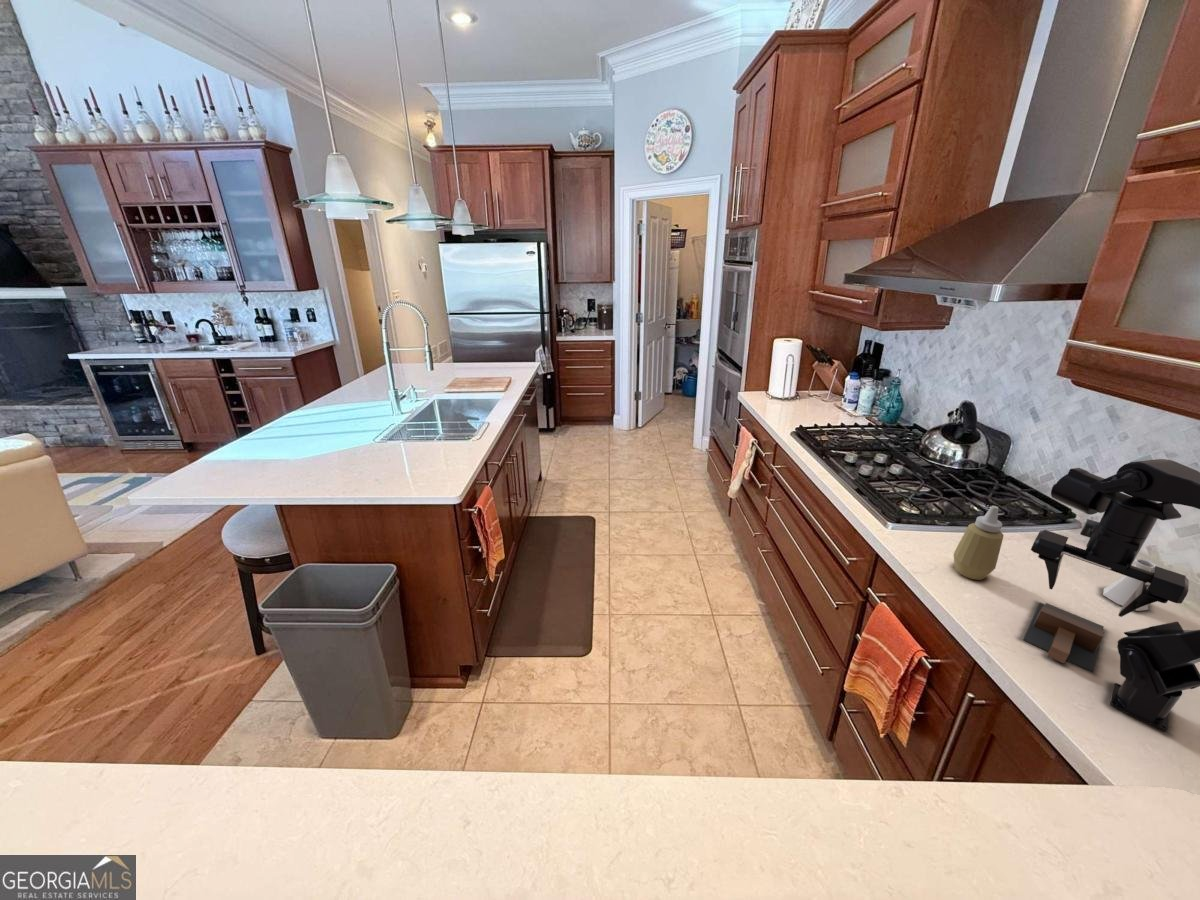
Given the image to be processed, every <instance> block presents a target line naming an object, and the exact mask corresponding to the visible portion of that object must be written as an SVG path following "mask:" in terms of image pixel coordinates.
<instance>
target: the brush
mask: <svg viewBox="0 0 1200 900" xmlns="http://www.w3.org/2000/svg"><path fill="white" fill-rule="evenodd" d="M1034 626H1035V627H1037V628H1039V629H1042V630H1044V631H1046V632H1049V633H1051V634H1053V635H1055V636H1054V639H1053V641H1052V644H1051V647H1050V649H1049V652H1048V651H1047V655H1046V656H1047V657H1048V658H1050V659H1052V660H1055V661H1056V662H1059V663H1061V664H1065V663H1066V661H1067V660H1066V659H1067V657H1068V656H1069V653H1070V650H1071V647H1072V644H1076V645H1078V646H1080V647H1083V648H1085V649H1087V650H1089V651H1092V652H1095V651H1096V649H1097V647H1098V645H1099V644H1100V645H1101V643H1102V640H1103V639H1104V636H1105V631H1104V630H1103V629H1104V627H1105V626H1104V625H1102V624H1099V623H1097V622H1095V621H1092V620H1089V619H1087V618H1084V617H1082V616H1080V615H1077V614H1074V613H1072V612H1070V611H1067V610H1065V609H1062V608H1060V607H1058V606H1055V605H1052V604H1050V603H1048V602H1045V603H1044V607H1042V609H1041V611H1040V613H1039V615H1038V617H1037V619H1036V621H1035V623H1034Z"/></svg>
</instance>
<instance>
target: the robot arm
mask: <svg viewBox="0 0 1200 900" xmlns="http://www.w3.org/2000/svg"><path fill="white" fill-rule="evenodd" d="M1050 496H1051V498H1052V499H1054V500H1055V501H1057V502H1060V503H1062V504H1064V505H1067V506H1069V507H1071V508H1073V509H1075V510H1077V511H1080V512H1082V513H1084V514H1087V515H1090V516H1091V515H1095V514H1102V517H1101V518H1100V521H1096V520H1093V519H1089V518H1087V519H1086V521H1085V522H1084V525H1083V527H1082V529H1081V530H1080V533H1079V534H1080V536H1082V537H1083V536H1084V537H1086V538H1089V540H1088V541H1087V543H1086V545H1085V547H1086V548H1085V549H1083V548H1080V547H1077V546H1075V545H1072V544H1069V543H1067V542H1068V540H1069V536H1065V535H1062V534H1061V533H1056V532H1054V531H1050V530H1047V529H1043V530H1040V531H1039V532H1038V533H1037V535H1036V537H1035V539H1034V541H1033V543H1032V546H1031V547H1030V551H1032V552H1033V553H1034V554H1037V557H1038V559H1040V560H1043V561H1044V564H1045V568H1046V570H1047V577H1048V588H1049V590H1053V589H1054V587H1055V585H1056V583H1057V580H1058V576H1059V572H1060V568H1061V565H1062V560H1063V557H1064V555H1065V556H1068V557H1070V558H1074V559H1077V560H1079V561H1082V562H1086V563H1088V564H1091V565H1094V566H1097V567H1100V568H1101V569H1102V568H1103V569H1105V570H1108V571H1111V572H1115V573H1118V574H1119V575H1122V576H1124V575H1125V576H1128V577H1131V578H1134V579H1137V580H1140V581H1142V582H1141V584H1140V585H1139V587H1138V588H1137V590H1136V591H1135V592H1134V593H1133V594H1132V596H1131V597H1130V598H1129V599H1128V600H1127V602H1126V603H1125V604H1124V605H1123V606H1122V605H1121V606H1122V607H1121V608H1120V610H1119V612H1118V614H1117V615H1118V617H1120V618H1123V617H1124V616H1126V615H1129V614H1130V613H1132V612H1134V611H1136V609H1138V608H1140V607H1142V606H1145V605H1148V606H1149V605H1151V604H1155V603H1157V602H1158V603H1161V604H1167V603H1168V602H1171V603H1174V604H1183V602H1184V600H1185V599H1186V598H1187V595H1188V594H1189V586H1190V585H1189V584H1190V583H1189V578H1188V577H1187V576H1186V575H1184V574H1181V573H1178V572H1176V571H1172V570H1169V569H1166V568H1163V567H1160V566H1158V565H1157V566H1155V567H1154V568H1153V569H1152V571H1151V572H1149V571H1146V570H1143V569H1140V568H1137V567H1134V565H1133V563H1134V562H1135V559H1137V556H1138V554H1139V553H1140V551H1141V549H1142V547H1143V545H1144V544H1145V542H1146V540H1147V538H1148V537H1149V536H1150V533H1151V531H1152V530H1153V528H1154V526H1155V524H1156V523H1157V520H1161V521H1171V520H1176V519H1181V518H1182V514H1181V513H1180V512H1179V510H1177V508H1175V506H1174V505H1181V506H1186V507H1192V508H1195V509H1198V510H1200V471H1199V470H1196V469H1194V468H1192V467H1190V466H1187V465H1184V464H1182V463H1180V462H1177V461H1174V460H1172V459H1167V458H1156V459H1148V460H1139V461H1131V462H1128V463H1125V464H1123V465H1122V466H1120V467H1119V468H1118V470H1117V471H1116V473H1115V474H1113V475H1111V476H1108V477H1105V478H1104V477H1101V476H1099V475H1096V474H1094V473H1091V472H1090V471H1088V470H1086V469H1085V468H1081V467H1074V468H1070V469H1069V471H1068V472H1067V473H1066V474H1065V475H1063V476H1062V477H1060V478H1059V479H1058V481H1057V482H1056V483H1054V484H1053V485H1052V487H1051V490H1050ZM1123 634H1124V635H1125V636H1123V637H1122V638H1119V640H1118V641H1117V652H1118V654H1119V674H1120V675H1121V676H1122V677H1124V680H1123V682H1122V683H1121V684H1120V683H1117V682H1115V683H1114V684H1112V685H1113V686H1112V691H1111V696H1110V700H1109V705H1110V706H1111V707H1113V708H1115V709H1117V710H1119V711H1121V712H1123V713H1125V714H1127V715H1129V716H1132V718H1135V719H1136V720H1137V719H1138V720H1139V721H1142V722H1144V723H1145V724H1148V725H1150V726H1151V727H1154V728H1156V729H1157V730H1160V731H1162V732H1165V733H1166V732H1168V730H1169V721H1170V712H1171V711H1172V709H1174V707H1175V705H1176V704H1177V702H1178V701H1179V700H1180V698H1181V697H1182V695H1183V691H1187V690H1193V689H1197V688H1199V687H1200V671H1199V670H1198V668H1197V666H1196V664H1197V663H1200V629H1192V630H1190V629H1183V627H1182V625H1181V624H1180V622H1179V621H1172V622H1167V623H1162V624H1156V625H1152V626H1148V627H1144V628H1139V629H1138V628H1137V629H1134V630H1127V631H1124V632H1123Z"/></svg>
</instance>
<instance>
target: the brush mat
mask: <svg viewBox="0 0 1200 900" xmlns="http://www.w3.org/2000/svg"><path fill="white" fill-rule="evenodd" d="M1044 605H1045V603H1042V602H1039V603H1038V605H1037V608H1036V610H1035V612H1034V614H1033V616H1032V619H1031V621H1030V623H1029V625H1028V627H1027V629H1026V632H1025V634H1024V637H1023V638H1022V641H1024V642H1026V643H1029V644H1030V645H1033V646H1035V647H1037V648H1039V649H1041V650H1044V651H1046V652H1047V653H1048V652H1049V649H1050V647H1051V644H1052V641H1053V639H1054V636H1055V635H1053V634H1051V633H1049V632H1046V631H1044V630H1042V629H1039V628H1037V627H1035V626H1034V623H1035V621H1036V619H1037V617H1038V615H1039V613H1040V611H1041V609H1042V607H1044ZM1103 631H1104V628H1103ZM1100 645H1101V643H1100V644H1099V645H1098V647H1097V649H1096V651H1095V652H1092V651H1089V650H1087V649H1085V648H1083V647H1080V646H1078V645H1076V644H1072V647H1071V650H1070V653H1069V656H1068V657H1067V659H1066V661H1067V662H1069V663H1071V664H1074V665H1075V666H1078V667H1080V668H1082V669H1085V670H1087V671H1089V672H1090V673H1094V670H1095V665H1096V662H1097V658H1098V653H1099V650H1100V649H1099V648H1100Z"/></svg>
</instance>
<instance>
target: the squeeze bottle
mask: <svg viewBox="0 0 1200 900" xmlns="http://www.w3.org/2000/svg"><path fill="white" fill-rule="evenodd" d="M998 518H999V507H998V506H997V505H991V506H990V508H989V509H988V510H987V512H986V513H985V514H984V515H979V516H977V517H976V519H975V521H974V522H972V523H970V524H968V526H967V527H966V530H965V531H964V533H963V535H962V537H961V539H960V541H959V542H958V544H957V546H956V548H955V550H954V552H953V565H954V569H955V571H956V572H957V573H958V574H960V575H962V576H964V577H965V578H968V579H972V580H975V581H976V580H977V581H978V580H980V581H981V580H984V579H985V578H986V577H988V576H989V575H990V574H991V573H992V572H993V571H994V570H996V567H997V565H998V559H999V556H1000V552H1001V548H1002V544H1003V540H1004V534H1003V533H1002V532H1003V531H1001V530H1002V527H1003V522H1001V521H1000V520H999V519H998Z"/></svg>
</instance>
